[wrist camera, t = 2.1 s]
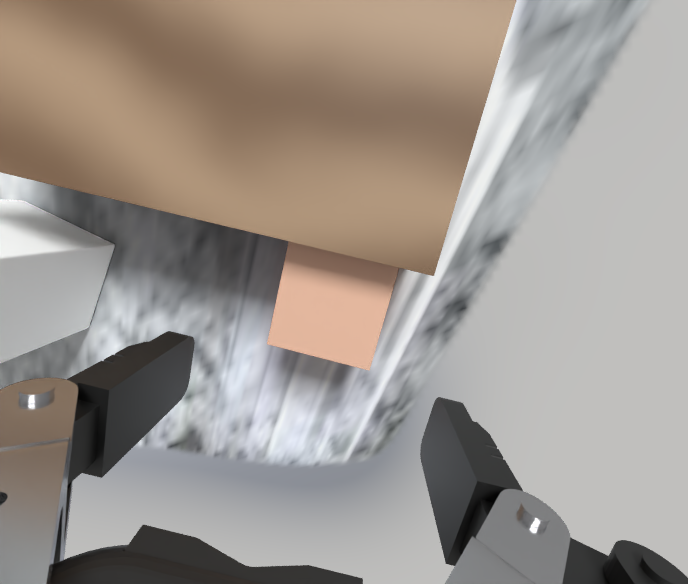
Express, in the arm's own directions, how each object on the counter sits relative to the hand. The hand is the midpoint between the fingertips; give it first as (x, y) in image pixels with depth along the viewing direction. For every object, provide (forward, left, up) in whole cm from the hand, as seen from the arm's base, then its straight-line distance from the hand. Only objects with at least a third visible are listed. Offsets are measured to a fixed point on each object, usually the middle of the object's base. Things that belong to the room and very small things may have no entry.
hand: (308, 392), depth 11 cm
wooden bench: (-10, -7, -10) cm, 15 cm away
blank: (-4, 0, -10) cm, 11 cm away
